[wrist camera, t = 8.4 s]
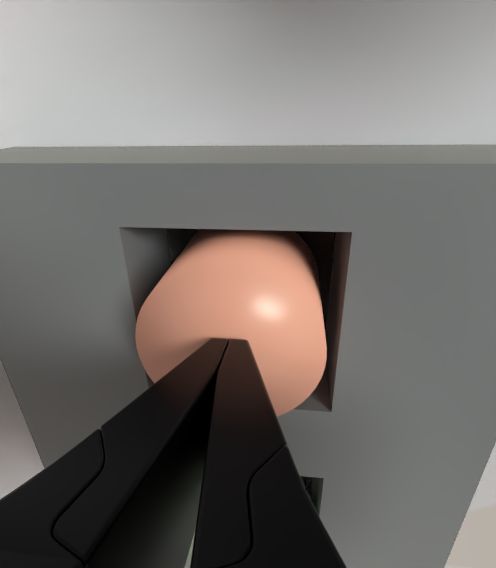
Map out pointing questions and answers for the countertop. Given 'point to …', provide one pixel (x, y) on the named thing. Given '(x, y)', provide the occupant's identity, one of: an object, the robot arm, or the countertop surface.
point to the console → (340, 320)
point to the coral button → (241, 309)
